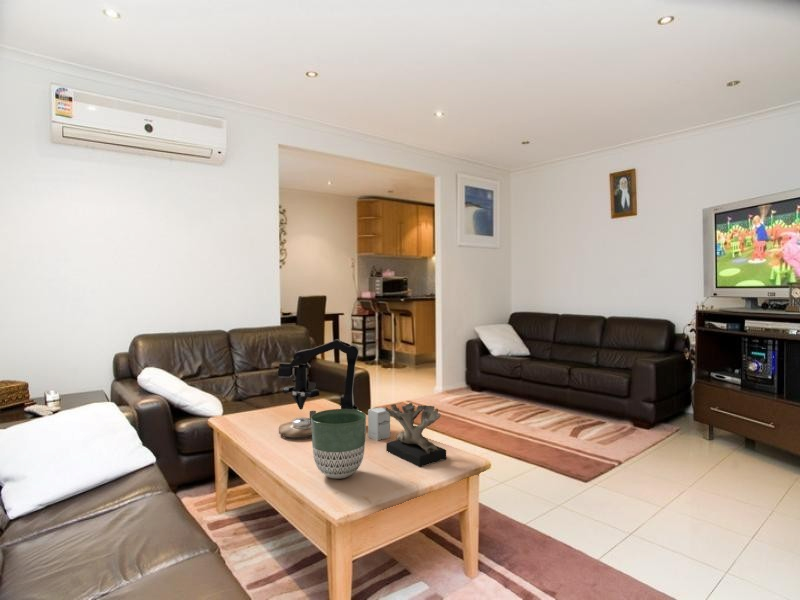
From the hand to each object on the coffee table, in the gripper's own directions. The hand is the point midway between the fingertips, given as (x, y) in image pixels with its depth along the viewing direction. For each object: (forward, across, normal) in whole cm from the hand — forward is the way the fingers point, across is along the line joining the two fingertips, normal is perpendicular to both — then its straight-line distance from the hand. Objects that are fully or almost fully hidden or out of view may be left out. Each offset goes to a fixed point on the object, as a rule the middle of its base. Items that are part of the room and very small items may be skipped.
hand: (301, 409), depth 218 cm
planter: (+9, -51, +35) cm, 63 cm away
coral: (+9, -65, +7) cm, 66 cm away
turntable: (+7, -6, +7) cm, 12 cm away
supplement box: (+9, -40, -7) cm, 42 cm away
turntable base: (+9, -6, +7) cm, 13 cm away
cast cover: (+5, -7, +7) cm, 11 cm away
